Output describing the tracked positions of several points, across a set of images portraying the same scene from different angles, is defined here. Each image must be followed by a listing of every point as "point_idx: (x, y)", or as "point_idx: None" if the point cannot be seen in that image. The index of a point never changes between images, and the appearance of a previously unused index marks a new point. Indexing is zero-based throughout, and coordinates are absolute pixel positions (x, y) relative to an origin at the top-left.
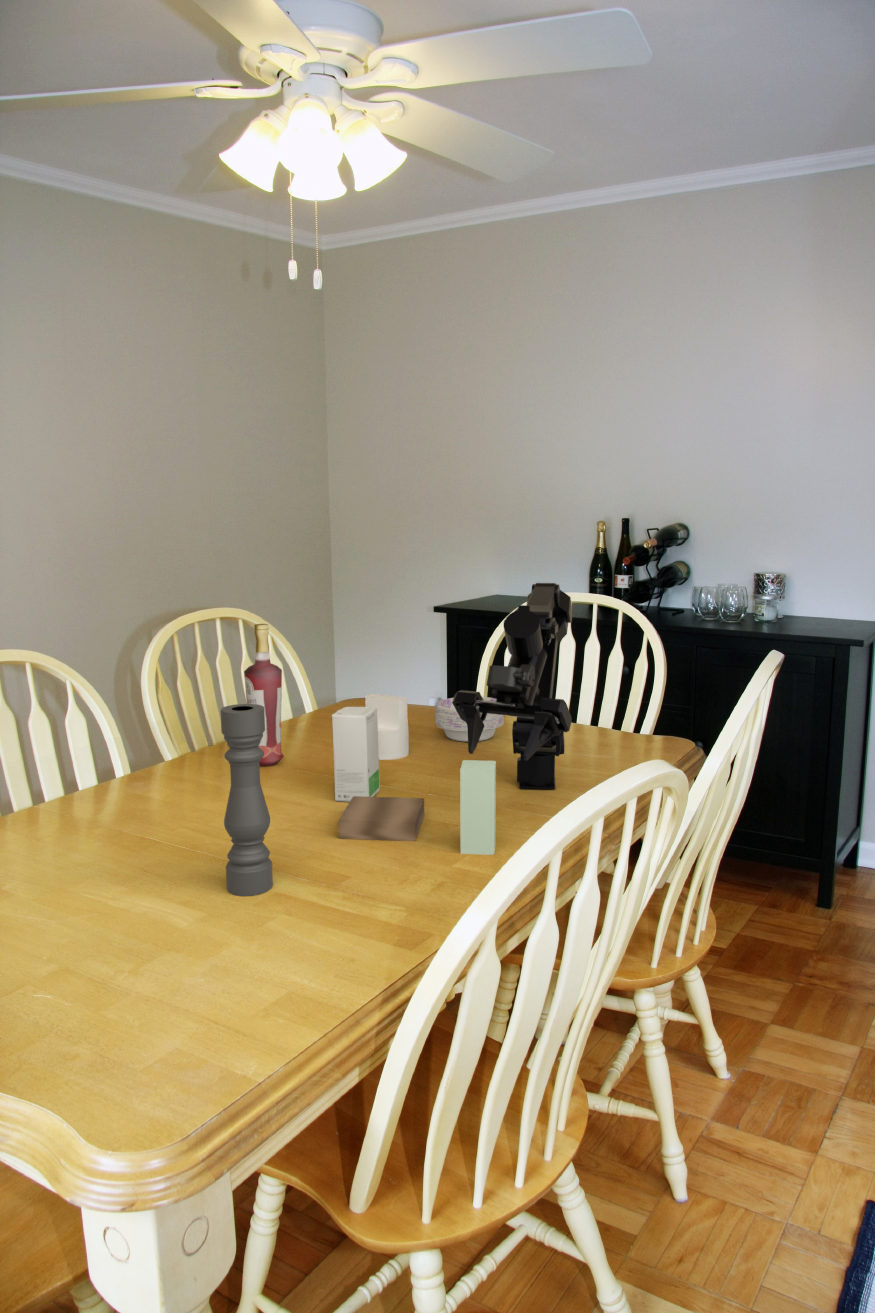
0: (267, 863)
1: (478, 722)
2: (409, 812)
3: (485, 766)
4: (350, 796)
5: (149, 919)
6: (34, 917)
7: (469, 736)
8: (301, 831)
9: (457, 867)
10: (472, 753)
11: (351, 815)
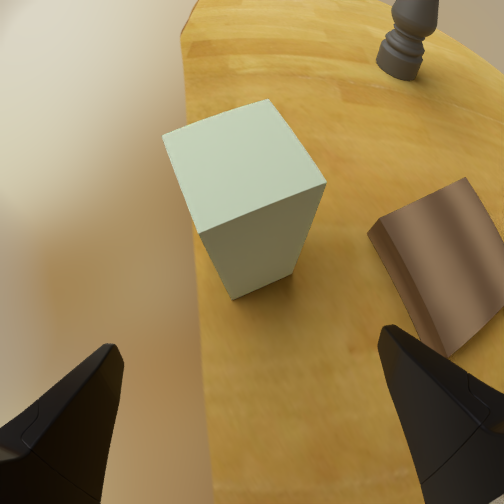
0: (388, 48)
1: (462, 474)
2: (422, 262)
3: (206, 153)
4: None
5: None
6: (435, 31)
7: (437, 358)
8: (493, 196)
9: None
10: (378, 348)
11: (470, 202)
